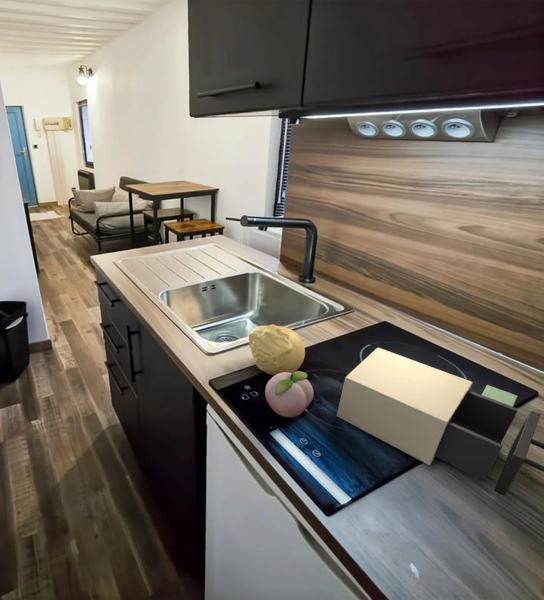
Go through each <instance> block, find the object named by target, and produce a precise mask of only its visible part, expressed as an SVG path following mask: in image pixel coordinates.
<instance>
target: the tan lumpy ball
mask: <svg viewBox="0 0 544 600" xmlns="http://www.w3.org/2000/svg"><path fill="white" fill-rule="evenodd" d="M248 347H249V348H250V351H251V354H252V355H251V356H252V358H253V363H254V365H255V366H256V367H257V368H258V369H259V370H260V371H262V372H264V373H266V374H268V375H270V376H273V377H274V376H275V375H277V374H279V373H284V372H288V373H293V372H296V371H298V369H299V368H300V367H301V366H302V364H303V363H304V360H305V356H306V349H305V348H306V347H305V344H304V341H303V340H302V338H301V337H300V336H299V334H298V333H297V332H296V331H294V330H293V329H291V328H289V327H287V326H286V327H285V326H281V325H275V324H273V323H272V324H270V325H258V326H256V327H254V328H253V329H252V331H251V332H250V333H249V334H248Z"/></svg>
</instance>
